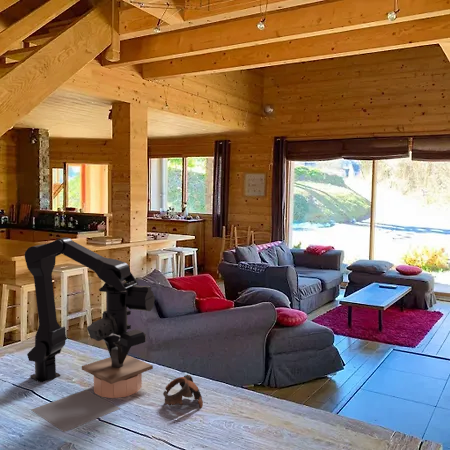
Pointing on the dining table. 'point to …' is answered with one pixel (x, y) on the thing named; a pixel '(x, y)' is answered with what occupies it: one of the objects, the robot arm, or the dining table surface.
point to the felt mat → (75, 410)
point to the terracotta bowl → (118, 387)
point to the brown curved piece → (182, 391)
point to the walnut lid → (116, 367)
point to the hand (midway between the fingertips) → (117, 361)
